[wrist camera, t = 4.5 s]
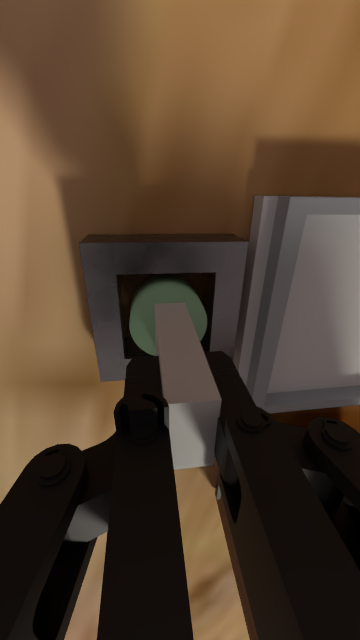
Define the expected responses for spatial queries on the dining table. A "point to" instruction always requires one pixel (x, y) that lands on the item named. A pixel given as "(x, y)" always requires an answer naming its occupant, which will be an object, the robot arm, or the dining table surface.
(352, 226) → the shallow gray tray
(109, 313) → the button housing
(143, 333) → the button
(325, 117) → the dining table surface
